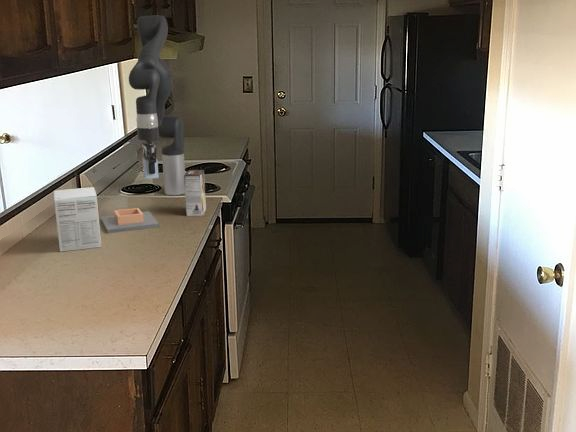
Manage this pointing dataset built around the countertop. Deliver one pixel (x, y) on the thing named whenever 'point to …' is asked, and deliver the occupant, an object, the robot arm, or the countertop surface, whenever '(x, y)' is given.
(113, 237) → the countertop surface
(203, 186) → the coffee box
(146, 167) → the plug
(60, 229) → the supplement box
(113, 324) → the countertop surface
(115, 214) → the socket dock
